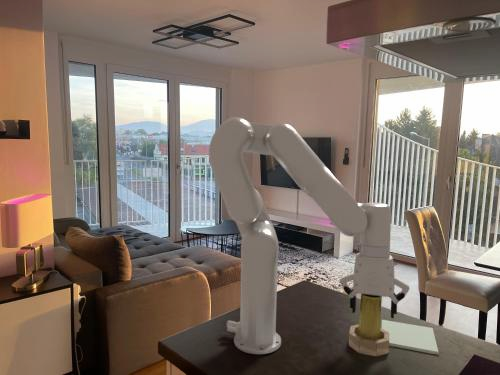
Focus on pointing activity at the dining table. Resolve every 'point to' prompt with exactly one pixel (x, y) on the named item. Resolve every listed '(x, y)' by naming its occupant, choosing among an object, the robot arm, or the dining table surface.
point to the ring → (369, 343)
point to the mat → (411, 336)
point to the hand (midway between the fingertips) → (372, 313)
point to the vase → (370, 317)
